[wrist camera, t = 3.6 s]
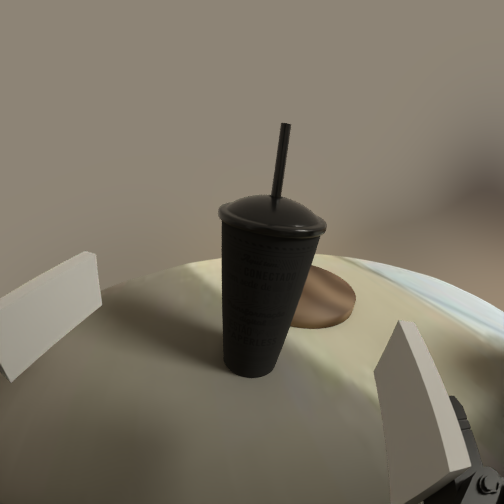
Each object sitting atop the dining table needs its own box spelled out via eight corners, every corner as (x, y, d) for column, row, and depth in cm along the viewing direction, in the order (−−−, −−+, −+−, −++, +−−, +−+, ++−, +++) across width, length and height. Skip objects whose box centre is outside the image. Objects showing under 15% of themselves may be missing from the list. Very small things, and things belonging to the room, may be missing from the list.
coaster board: (300, 263, 47) (302, 255, 47) (373, 307, 35) (376, 298, 35) (218, 277, 39) (219, 268, 38) (290, 344, 27) (293, 333, 26)
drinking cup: (234, 402, 19) (275, 109, 12) (195, 345, 25) (210, 117, 18) (306, 371, 23) (364, 138, 16) (260, 327, 29) (291, 132, 22)
